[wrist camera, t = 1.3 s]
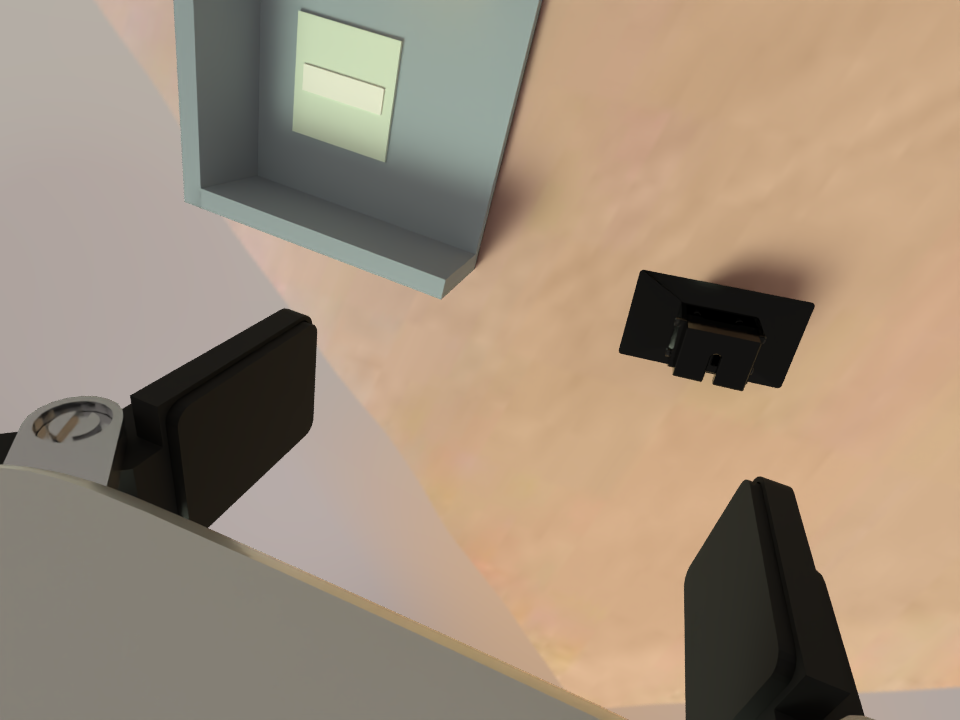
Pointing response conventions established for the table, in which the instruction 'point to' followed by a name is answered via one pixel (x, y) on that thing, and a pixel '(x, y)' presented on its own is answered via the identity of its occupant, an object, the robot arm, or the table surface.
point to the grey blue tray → (353, 123)
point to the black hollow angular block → (714, 330)
